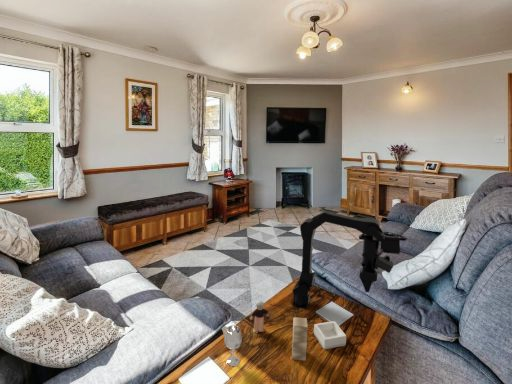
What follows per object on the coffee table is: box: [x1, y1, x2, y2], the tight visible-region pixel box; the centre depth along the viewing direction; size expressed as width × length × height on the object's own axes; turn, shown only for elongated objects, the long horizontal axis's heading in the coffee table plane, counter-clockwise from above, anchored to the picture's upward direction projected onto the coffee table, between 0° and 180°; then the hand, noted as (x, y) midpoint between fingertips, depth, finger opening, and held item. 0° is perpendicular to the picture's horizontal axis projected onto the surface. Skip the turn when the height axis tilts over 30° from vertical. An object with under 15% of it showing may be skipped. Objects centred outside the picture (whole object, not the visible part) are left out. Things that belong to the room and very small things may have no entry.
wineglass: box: [224, 324, 243, 367], centre depth 95 cm, size 6×6×12 cm
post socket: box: [313, 320, 347, 350], centre depth 107 cm, size 9×9×4 cm
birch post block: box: [291, 316, 309, 361], centre depth 98 cm, size 4×4×13 cm
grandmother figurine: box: [249, 300, 270, 334], centre depth 111 cm, size 8×4×13 cm, turn 117°
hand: (367, 286), depth 117 cm, fingers open, 9 cm apart
